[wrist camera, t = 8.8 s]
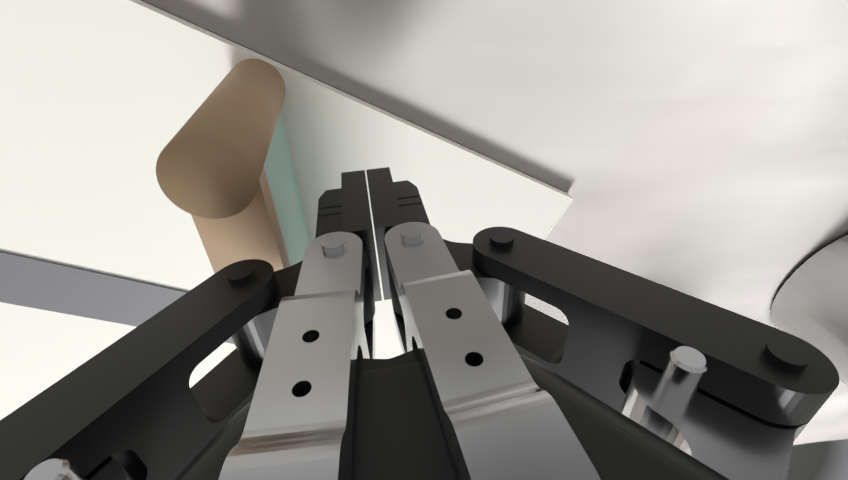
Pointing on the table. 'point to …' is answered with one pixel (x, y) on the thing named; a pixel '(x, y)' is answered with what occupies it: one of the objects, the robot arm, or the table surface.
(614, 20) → the table surface
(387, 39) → the table surface
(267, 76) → the tan and green panel
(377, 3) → the table surface
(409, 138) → the board
